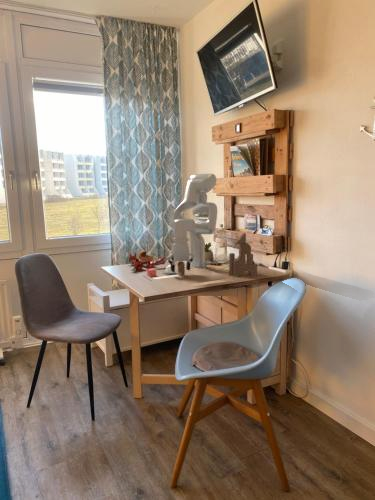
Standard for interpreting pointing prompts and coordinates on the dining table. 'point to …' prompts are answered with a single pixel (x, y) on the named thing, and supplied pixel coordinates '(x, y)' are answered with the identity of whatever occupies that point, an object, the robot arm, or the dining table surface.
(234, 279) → the dining table surface
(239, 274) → the wooden toy
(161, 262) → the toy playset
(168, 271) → the dome
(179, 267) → the brown rounded capsule
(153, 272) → the board
